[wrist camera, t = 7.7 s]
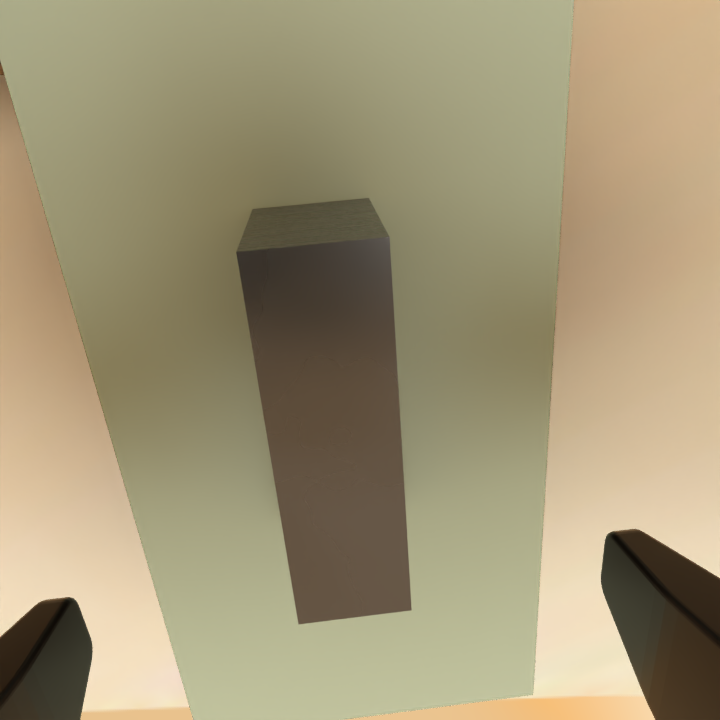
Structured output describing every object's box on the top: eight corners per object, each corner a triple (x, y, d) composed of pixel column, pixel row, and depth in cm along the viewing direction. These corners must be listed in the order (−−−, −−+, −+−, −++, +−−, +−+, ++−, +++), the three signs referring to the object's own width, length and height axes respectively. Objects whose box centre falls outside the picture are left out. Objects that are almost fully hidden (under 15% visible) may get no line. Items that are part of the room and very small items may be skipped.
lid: (574, -323, 10) (733, -555, 6) (524, 672, 20) (575, 809, 17) (-79, -282, 10) (-319, -508, 6) (202, 714, 20) (179, 864, 16)
